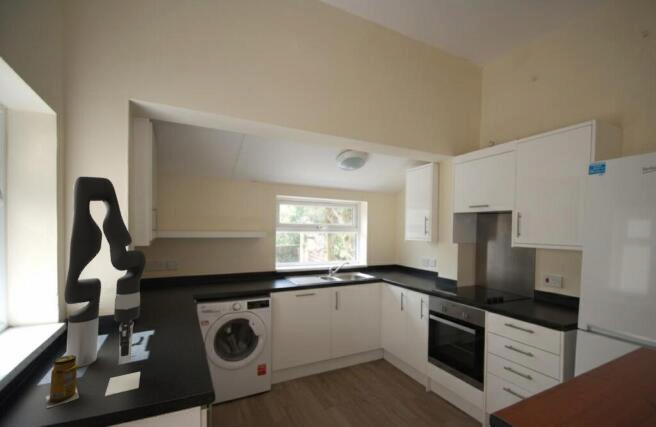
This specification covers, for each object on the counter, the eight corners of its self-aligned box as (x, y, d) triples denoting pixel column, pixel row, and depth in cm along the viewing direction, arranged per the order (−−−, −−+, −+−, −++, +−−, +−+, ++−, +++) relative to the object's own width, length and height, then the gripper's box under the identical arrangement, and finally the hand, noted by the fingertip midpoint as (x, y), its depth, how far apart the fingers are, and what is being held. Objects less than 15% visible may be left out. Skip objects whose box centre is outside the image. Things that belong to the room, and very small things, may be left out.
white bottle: (119, 359, 100) (120, 326, 101) (131, 356, 102) (133, 325, 103) (117, 363, 97) (119, 330, 98) (130, 360, 99) (132, 328, 100)
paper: (110, 378, 99) (110, 378, 99) (140, 372, 104) (140, 371, 104) (104, 396, 89) (104, 395, 89) (138, 388, 94) (138, 387, 94)
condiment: (76, 387, 94) (78, 351, 94) (79, 398, 88) (81, 360, 88) (45, 397, 88) (48, 358, 89) (46, 409, 83) (48, 368, 83)
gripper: (117, 302, 105) (115, 348, 104) (111, 311, 93) (108, 364, 92) (141, 299, 109) (139, 344, 108) (138, 308, 97) (136, 358, 96)
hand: (125, 353), depth 100 cm, fingers closed on white bottle, 3 cm apart
